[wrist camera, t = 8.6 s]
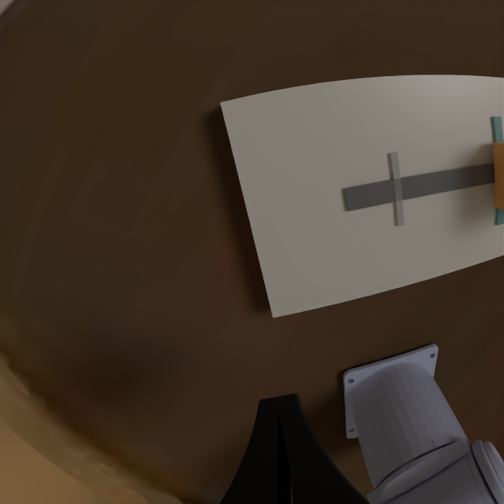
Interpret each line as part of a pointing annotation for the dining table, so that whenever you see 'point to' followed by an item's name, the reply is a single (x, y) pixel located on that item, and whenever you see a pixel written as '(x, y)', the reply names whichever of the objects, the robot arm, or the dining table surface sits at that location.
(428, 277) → the fader console
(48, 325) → the dining table surface
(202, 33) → the dining table surface
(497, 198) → the fader tab
